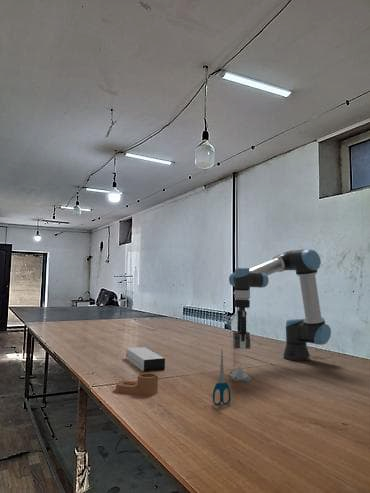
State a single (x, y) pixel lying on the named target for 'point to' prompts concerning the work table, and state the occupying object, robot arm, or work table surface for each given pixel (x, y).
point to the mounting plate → (239, 375)
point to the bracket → (140, 385)
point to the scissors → (221, 385)
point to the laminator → (145, 359)
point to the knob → (237, 340)
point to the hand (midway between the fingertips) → (241, 346)
